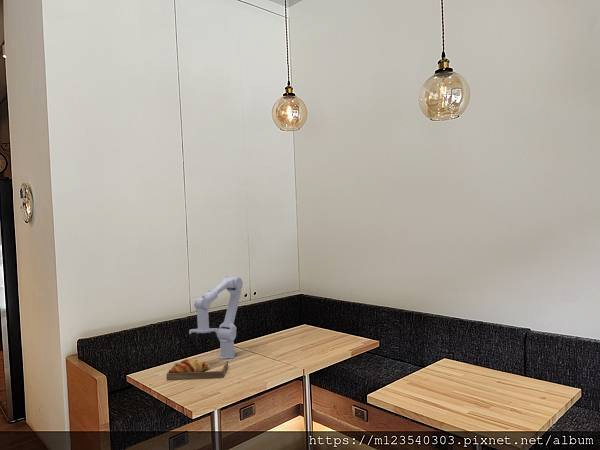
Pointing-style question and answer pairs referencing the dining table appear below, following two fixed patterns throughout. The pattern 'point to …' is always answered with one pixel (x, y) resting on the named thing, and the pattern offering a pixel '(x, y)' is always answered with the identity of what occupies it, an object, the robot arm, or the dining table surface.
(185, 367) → the croissant
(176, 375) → the frame
